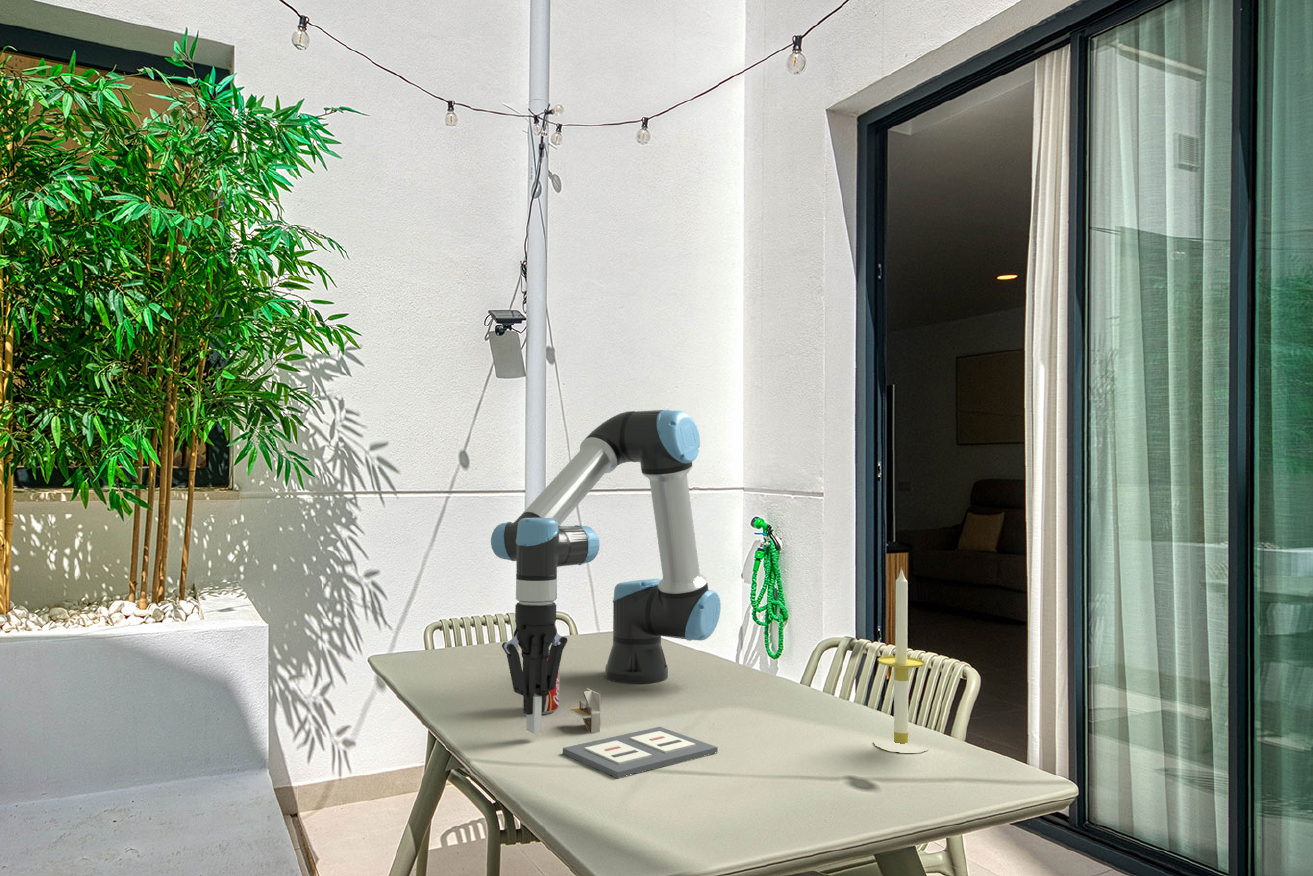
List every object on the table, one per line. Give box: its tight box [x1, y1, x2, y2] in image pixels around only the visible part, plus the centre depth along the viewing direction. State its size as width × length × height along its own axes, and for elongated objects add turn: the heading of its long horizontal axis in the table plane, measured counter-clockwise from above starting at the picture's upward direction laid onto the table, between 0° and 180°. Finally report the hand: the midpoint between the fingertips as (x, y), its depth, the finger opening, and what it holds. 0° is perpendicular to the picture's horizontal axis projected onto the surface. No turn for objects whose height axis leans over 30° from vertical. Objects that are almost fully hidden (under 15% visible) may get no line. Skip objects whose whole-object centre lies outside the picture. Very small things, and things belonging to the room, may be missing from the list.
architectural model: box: [568, 687, 601, 734], centre depth 174 cm, size 3×7×7 cm, turn 31°
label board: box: [562, 726, 719, 779], centre depth 159 cm, size 22×16×1 cm
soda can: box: [535, 649, 560, 715], centre depth 186 cm, size 7×7×12 cm
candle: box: [877, 566, 926, 744], centre depth 166 cm, size 10×10×32 cm
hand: (533, 731), depth 166 cm, fingers closed
